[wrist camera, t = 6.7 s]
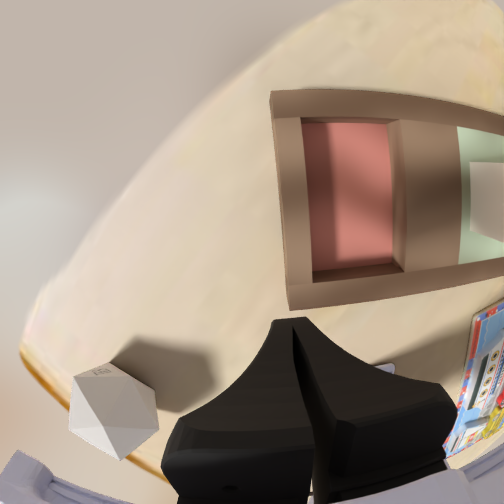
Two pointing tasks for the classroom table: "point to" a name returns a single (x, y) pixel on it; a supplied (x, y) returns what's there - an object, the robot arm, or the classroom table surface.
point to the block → (487, 199)
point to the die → (112, 410)
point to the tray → (379, 194)
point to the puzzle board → (480, 382)
